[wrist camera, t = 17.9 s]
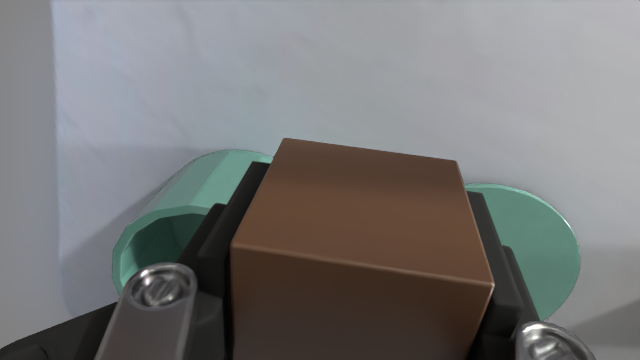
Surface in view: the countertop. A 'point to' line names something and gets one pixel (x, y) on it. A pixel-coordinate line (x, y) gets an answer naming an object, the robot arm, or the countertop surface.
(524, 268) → the lid
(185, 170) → the bowl
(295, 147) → the block
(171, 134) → the countertop surface
